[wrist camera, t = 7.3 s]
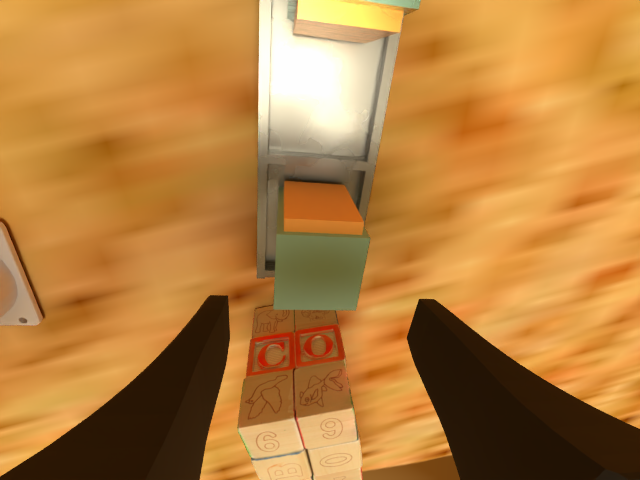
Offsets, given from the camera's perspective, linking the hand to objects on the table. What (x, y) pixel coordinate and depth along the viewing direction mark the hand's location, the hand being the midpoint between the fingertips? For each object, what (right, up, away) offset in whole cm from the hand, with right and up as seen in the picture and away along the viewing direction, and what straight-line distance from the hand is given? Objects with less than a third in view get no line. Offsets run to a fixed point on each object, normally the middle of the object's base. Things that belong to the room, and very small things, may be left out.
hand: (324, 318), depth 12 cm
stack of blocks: (-1, -11, +18) cm, 21 cm away
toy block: (-1, +4, +8) cm, 9 cm away
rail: (0, +10, +6) cm, 11 cm away
